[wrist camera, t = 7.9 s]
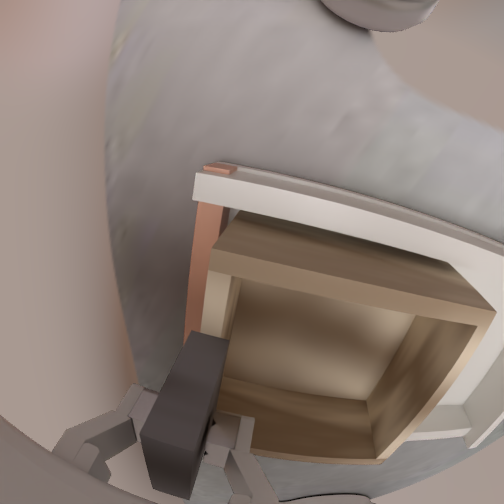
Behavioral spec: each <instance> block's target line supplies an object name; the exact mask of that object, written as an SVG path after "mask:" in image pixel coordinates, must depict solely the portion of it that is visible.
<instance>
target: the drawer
mask: <svg viewBox="0 0 504 504" xmlns="http://www.w3.org/2000/svg"><path fill="white" fill-rule="evenodd" d="M496 313H497V311H496V310H495V309H494V308H493V307H492V306H491V305H490V304H489V303H488V302H487V301H486V300H485V299H484V297H483V296H482V295H481V294H480V293H479V292H478V291H477V290H476V289H475V288H474V287H473V286H472V285H471V284H470V283H469V282H468V281H467V280H466V279H465V278H464V277H463V276H462V275H461V274H460V273H459V272H458V271H457V270H455V269H454V268H453V267H452V266H451V265H450V264H449V263H448V262H445V261H442V260H438V259H435V258H432V257H428V256H425V255H421V254H418V253H414V252H410V251H407V250H403V249H400V248H396V247H392V246H389V245H385V244H381V243H377V242H374V241H370V240H366V239H362V238H358V237H354V236H350V235H346V234H342V233H338V232H334V231H330V230H326V229H322V228H318V227H314V226H310V225H306V224H301V223H297V222H293V221H289V220H284V219H280V218H275V217H271V216H267V215H262V214H258V213H253V212H248V211H244V210H240V211H239V212H238V213H237V215H236V216H235V217H234V219H233V220H232V221H231V222H230V224H229V225H228V226H227V228H226V229H225V230H224V232H223V233H222V234H221V236H220V237H219V238H218V240H217V241H216V243H215V244H214V245H213V247H212V248H211V254H210V261H209V268H208V275H207V283H206V290H205V298H204V306H203V314H202V322H201V330H200V332H196V331H193V330H191V332H190V334H189V336H188V338H187V340H186V342H185V344H184V346H183V348H182V350H181V352H180V353H179V355H178V357H177V359H176V361H175V363H174V365H173V367H172V369H171V371H170V373H169V375H168V377H167V379H166V381H165V383H164V385H163V387H162V389H161V391H160V393H159V395H158V397H157V399H156V401H155V403H154V405H153V407H152V409H151V411H150V413H149V415H148V417H147V419H146V421H145V423H144V425H143V427H142V429H141V431H140V433H139V435H140V439H141V444H142V448H143V453H144V457H145V461H146V465H147V469H148V472H149V477H150V480H151V484H152V487H153V489H155V490H158V491H161V492H164V493H167V494H170V495H173V496H177V497H180V498H183V499H187V500H190V496H191V493H192V490H193V487H194V483H195V480H196V477H197V474H198V470H199V467H200V464H201V460H202V457H203V454H204V450H205V445H206V441H207V437H208V434H209V430H210V427H212V422H213V417H214V414H215V411H216V409H217V410H222V411H226V412H231V413H235V414H240V415H241V416H242V415H243V416H248V417H253V418H255V423H254V429H253V434H252V440H251V446H250V452H249V453H253V454H254V455H258V456H264V457H270V458H277V459H285V460H293V461H302V462H312V463H326V464H351V465H374V464H382V463H383V462H384V461H385V460H386V459H387V458H388V457H389V456H390V455H391V454H392V453H393V452H394V451H395V450H396V449H397V448H398V447H399V446H400V445H401V444H402V443H403V442H404V441H405V440H406V439H407V438H408V437H409V436H410V435H411V434H412V433H413V432H414V431H415V429H416V428H417V427H418V426H419V425H420V424H421V423H422V422H423V420H424V419H425V418H426V417H427V416H428V415H429V413H430V412H431V411H432V410H433V409H434V407H435V406H436V405H437V404H438V403H439V401H440V400H441V399H442V397H443V396H444V395H445V394H446V392H447V391H448V390H449V388H450V387H451V386H452V384H453V383H454V381H455V380H456V379H457V377H458V376H459V374H460V373H461V372H462V370H463V369H464V367H465V366H466V364H467V363H468V361H469V360H470V358H471V357H472V355H473V353H474V352H475V350H476V349H477V347H478V345H479V344H480V342H481V340H482V339H483V337H484V335H485V333H486V332H487V330H488V328H489V326H490V325H491V323H492V321H493V319H494V317H495V315H496Z"/></svg>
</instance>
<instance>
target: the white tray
mask: <svg viewBox="0 0 504 504" xmlns="http://www.w3.org/2000/svg"><path fill="white" fill-rule="evenodd" d="M192 200H195V201H198V208H197V215H196V222H195V230H194V238H193V246H192V255H191V264H190V273H189V283H188V293H187V304H186V316H185V328H184V342H183V346H184V344H185V342H186V340H187V338H188V336H189V334H190V332H191V330H193V331H196V332H200V330H201V322H202V314H203V306H204V298H205V290H206V283H207V275H208V268H209V261H210V254H211V248H212V247H213V245H214V244H215V243H216V241H217V240H218V238H219V237H220V236H221V234H222V233H223V232H224V230H225V229H226V228H227V226H228V225H229V224H230V222H231V221H232V220H233V219H234V217H235V216H236V215H237V213H238V212H239V211H240V210H244V211H248V212H253V213H258V214H262V215H267V216H271V217H275V218H280V219H284V220H289V221H293V222H297V223H301V224H306V225H310V226H314V227H318V228H322V229H326V230H330V231H334V232H338V233H342V234H346V235H350V236H354V237H358V238H362V239H366V240H370V241H374V242H377V243H381V244H385V245H389V246H392V247H396V248H400V249H403V250H407V251H410V252H414V253H418V254H421V255H425V256H428V257H432V258H435V259H438V260H442V261H445V262H448V263H449V264H450V265H451V266H452V267H453V268H454V269H455V270H457V271H458V272H459V273H460V274H461V275H462V276H463V277H464V278H465V279H466V280H467V281H468V282H469V283H470V284H471V285H472V286H473V287H474V288H475V289H476V290H477V291H478V292H479V293H480V294H481V295H482V296H483V297H484V299H485V300H486V301H487V302H488V303H489V304H490V305H491V306H492V307H493V308H494V309H495V310H496V311H497V313H496V315H495V317H494V319H493V321H492V323H491V325H490V326H489V328H488V330H487V332H486V333H485V335H484V337H483V339H482V340H481V342H480V344H479V345H478V347H477V349H476V350H475V352H474V353H473V355H472V357H471V358H470V360H469V361H468V363H467V364H466V366H465V367H464V369H463V370H462V372H461V373H460V374H459V376H458V377H457V379H456V380H455V381H454V383H453V384H452V386H451V387H450V388H449V390H448V391H447V392H446V394H445V395H444V396H443V397H442V399H441V400H440V401H439V403H438V404H437V405H436V406H435V407H434V409H433V410H432V411H431V412H430V413H429V415H428V416H427V417H426V418H425V419H424V420H423V422H422V423H421V424H420V425H419V426H418V427H417V428H416V429H415V431H414V432H413V433H412V434H411V435H410V436H409V437H408V438H407V439H406V440H405V441H415V440H430V439H442V438H451V437H459V436H463V438H464V441H465V443H466V446H467V449H470V448H475V447H477V446H478V445H479V444H480V443H481V442H482V441H483V440H484V439H485V438H486V437H487V436H488V435H489V434H490V433H491V432H492V431H493V430H494V429H495V427H496V426H497V425H498V424H499V423H500V422H501V421H502V420H503V419H504V244H502V243H500V242H498V241H495V240H493V239H491V238H488V237H486V236H483V235H481V234H478V233H476V232H473V231H471V230H468V229H466V228H463V227H460V226H458V225H455V224H452V223H450V222H447V221H444V220H441V219H439V218H436V217H433V216H430V215H427V214H424V213H421V212H418V211H415V210H412V209H409V208H406V207H403V206H400V205H397V204H394V203H390V202H387V201H384V200H381V199H377V198H374V197H371V196H367V195H364V194H360V193H357V192H353V191H349V190H346V189H342V188H338V187H334V186H331V185H327V184H323V183H319V182H315V181H311V180H307V179H302V178H298V177H294V176H290V175H285V174H281V173H276V172H272V171H267V170H262V169H257V168H252V167H247V166H242V165H237V164H231V163H226V162H220V161H219V162H216V163H212V164H208V165H205V166H204V168H203V170H202V171H199V172H196V177H195V184H194V191H193V198H192Z"/></svg>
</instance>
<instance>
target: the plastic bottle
mask: <svg viewBox="0 0 504 504" xmlns="http://www.w3.org/2000/svg"><path fill="white" fill-rule="evenodd" d="M321 1H322V2H323V3H324V4H325V5H326V6H327V7H328V8H329V9H330V10H331V11H333V12H334V13H335V14H336V15H338V16H340V17H341V18H343V19H345V20H346V21H348V22H351V23H353V24H355V25H357V26H360V27H363V28H366V29H369V30H375V31H380V32H396V31H402V30H404V29H407V28H410V27H412V26H415V25H417V24H419V23H421V22H423V21H424V20H426V19H427V18H428V17H429V15H430V14H431V13H432V11H433V10H434V8H435V7H436V5H437V3H438V2H439V0H321Z"/></svg>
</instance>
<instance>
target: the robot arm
mask: <svg viewBox="0 0 504 504" xmlns="http://www.w3.org/2000/svg"><path fill="white" fill-rule="evenodd" d="M158 395H159V392H156V391H154V390H151V389H148V388H146V387H143V386H140V385H138V384H135V383H134V384H132V385H131V386H130V388H129V390H128V392H127V393H126V395H125V396H124V398H123V400H122V401H121V403H120V404H119V406H118V408H117V410H116V411H113V410H111V411H109V412H107V413H105V414H102V415H100V416H98V417H96V418H93V419H91V420H89V421H86V422H84V423H81V424H79V425H77V426H74V427H72V428H69V429H67V430H66V431H65V432H64V434H63V435H62V437H61V438H60V440H59V441H58V443H57V444H56V446H55V447H54V449H53V450H52V452H50V451H48V450H47V449H45V448H44V447H42V446H41V445H39V444H38V443H36V442H35V441H34V440H32V439H31V438H29V437H28V436H27V435H25V434H24V433H23V432H21V431H20V430H19V429H17V428H16V427H15V426H13V425H12V424H11V423H10V422H8V421H7V420H6V419H5V418H4V417H2V416H1V415H0V504H157V503H155V502H152V501H149V500H146V499H143V498H141V497H139V496H136V495H133V494H131V493H129V492H126V491H124V490H121V489H119V488H117V487H115V486H112V485H110V484H108V481H109V479H110V476H111V472H110V470H109V468H108V466H107V465H106V463H105V461H106V460H108V459H110V458H112V457H113V456H115V455H116V454H118V453H120V452H122V451H123V450H125V449H126V448H128V447H129V446H131V445H133V444H134V443H136V441H138V442H140V443H141V439H140V435H139V433H140V431H141V429H142V427H143V425H144V423H145V421H146V419H147V417H148V415H149V413H150V411H151V409H152V407H153V405H154V403H155V401H156V399H157V397H158ZM254 423H255V418H253V417H248V416H243V415H242V416H241V415H240V414H235V413H231V412H226V411H222V410H217V409H216V411H215V414H214V417H213V422H212V427H210V430H209V434H208V437H207V441H206V445H205V453H204V457H203V462H204V463H207V464H211V465H215V466H219V467H223V468H224V471H225V473H226V476H227V478H228V481H229V483H230V485H231V488H232V490H233V493H234V495H232V496H231V498H230V500H229V502H228V504H375V503H372V502H371V501H370V499H369V498H368V497H365V496H360V495H327V496H316V497H309V498H303V499H297V500H293V501H288V502H278V501H279V499H278V497H277V495H276V493H275V492H274V490H273V488H272V487H271V485H270V483H269V481H268V480H267V478H266V476H265V474H264V473H263V471H262V469H261V467H260V465H259V463H258V462H257V460H256V458H255V456H254V454H253V453H249V452H250V446H251V440H252V434H253V429H254Z"/></svg>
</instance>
